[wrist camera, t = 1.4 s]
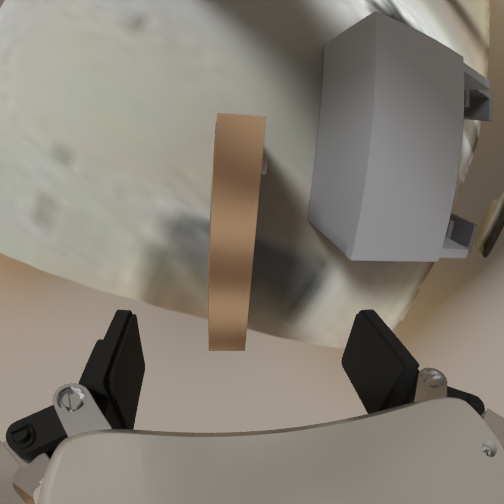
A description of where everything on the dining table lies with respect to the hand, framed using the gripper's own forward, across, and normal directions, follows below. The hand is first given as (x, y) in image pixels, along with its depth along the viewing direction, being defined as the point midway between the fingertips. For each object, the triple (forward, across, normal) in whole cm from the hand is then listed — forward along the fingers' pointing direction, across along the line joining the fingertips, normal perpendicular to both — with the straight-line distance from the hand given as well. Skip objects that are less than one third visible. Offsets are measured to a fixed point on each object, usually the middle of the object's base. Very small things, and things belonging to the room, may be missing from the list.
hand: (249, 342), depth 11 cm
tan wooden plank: (+20, 0, -1) cm, 20 cm away
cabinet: (+20, -20, -10) cm, 30 cm away
